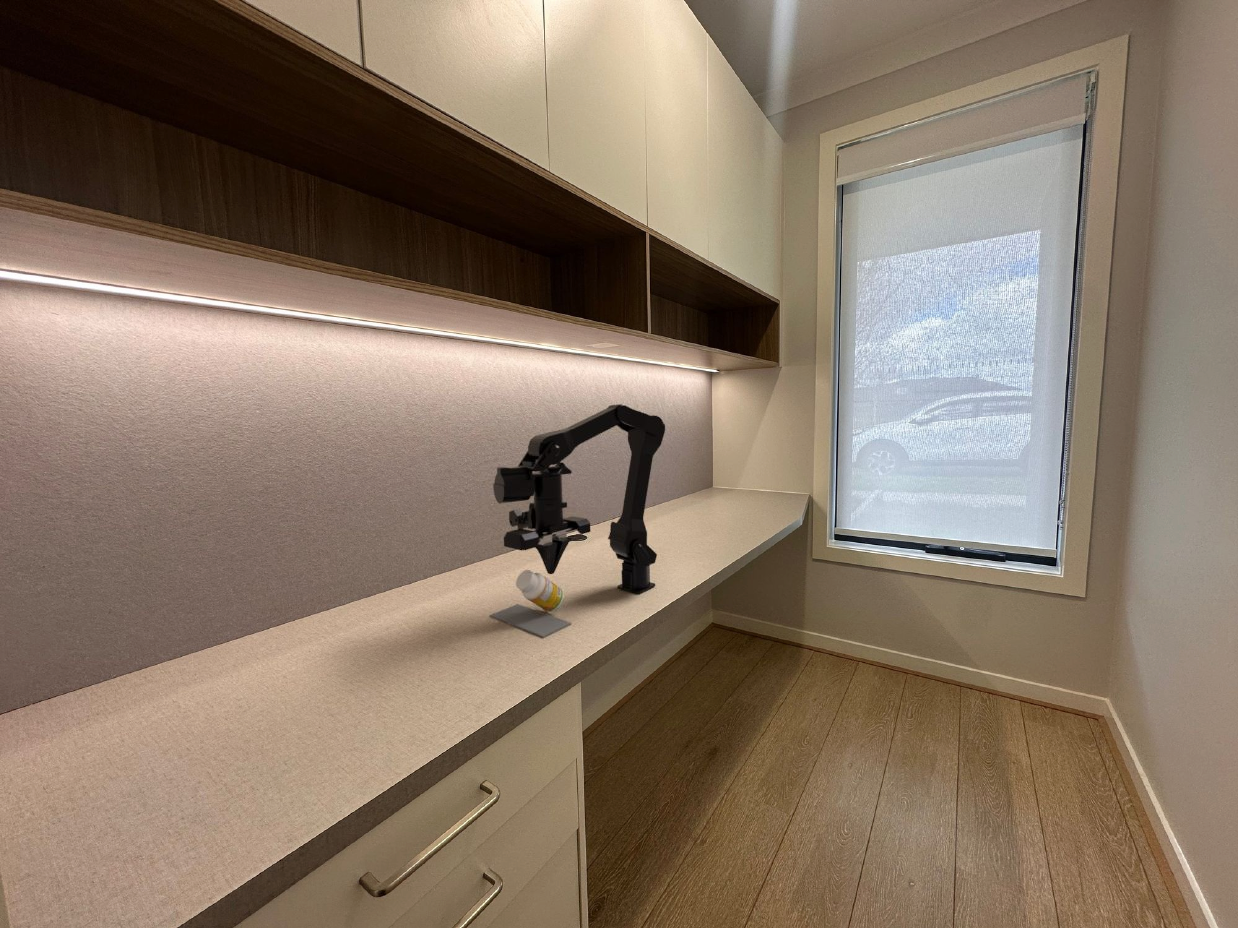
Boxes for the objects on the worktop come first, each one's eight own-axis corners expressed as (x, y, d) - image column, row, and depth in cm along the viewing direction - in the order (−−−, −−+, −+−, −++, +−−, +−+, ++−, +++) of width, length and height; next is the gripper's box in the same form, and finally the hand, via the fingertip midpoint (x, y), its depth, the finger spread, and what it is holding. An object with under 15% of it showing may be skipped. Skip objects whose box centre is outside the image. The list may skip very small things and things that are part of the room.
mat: (517, 605, 102) (517, 603, 102) (571, 624, 92) (571, 622, 92) (489, 616, 96) (489, 614, 96) (543, 637, 86) (543, 636, 86)
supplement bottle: (538, 606, 100) (508, 586, 94) (553, 583, 102) (524, 562, 96) (554, 616, 96) (523, 596, 90) (569, 593, 98) (539, 571, 92)
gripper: (554, 488, 109) (557, 556, 110) (484, 500, 95) (488, 578, 96) (591, 492, 102) (593, 565, 103) (521, 506, 88) (524, 589, 89)
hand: (550, 573), depth 98 cm, fingers closed
